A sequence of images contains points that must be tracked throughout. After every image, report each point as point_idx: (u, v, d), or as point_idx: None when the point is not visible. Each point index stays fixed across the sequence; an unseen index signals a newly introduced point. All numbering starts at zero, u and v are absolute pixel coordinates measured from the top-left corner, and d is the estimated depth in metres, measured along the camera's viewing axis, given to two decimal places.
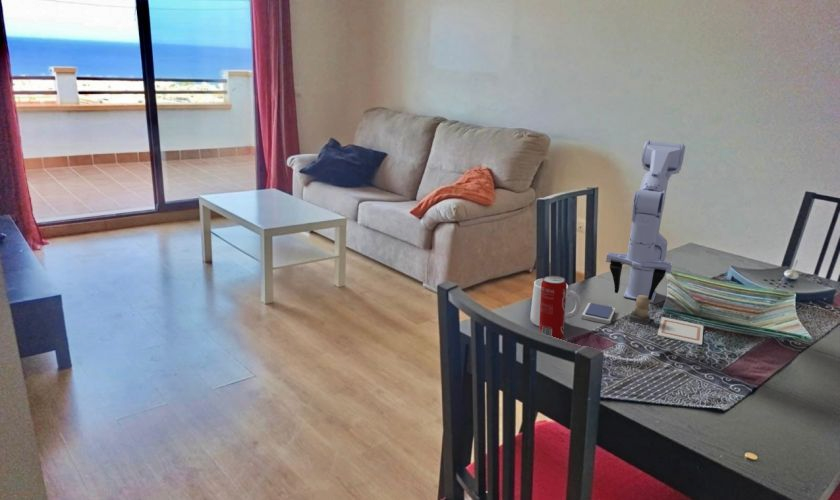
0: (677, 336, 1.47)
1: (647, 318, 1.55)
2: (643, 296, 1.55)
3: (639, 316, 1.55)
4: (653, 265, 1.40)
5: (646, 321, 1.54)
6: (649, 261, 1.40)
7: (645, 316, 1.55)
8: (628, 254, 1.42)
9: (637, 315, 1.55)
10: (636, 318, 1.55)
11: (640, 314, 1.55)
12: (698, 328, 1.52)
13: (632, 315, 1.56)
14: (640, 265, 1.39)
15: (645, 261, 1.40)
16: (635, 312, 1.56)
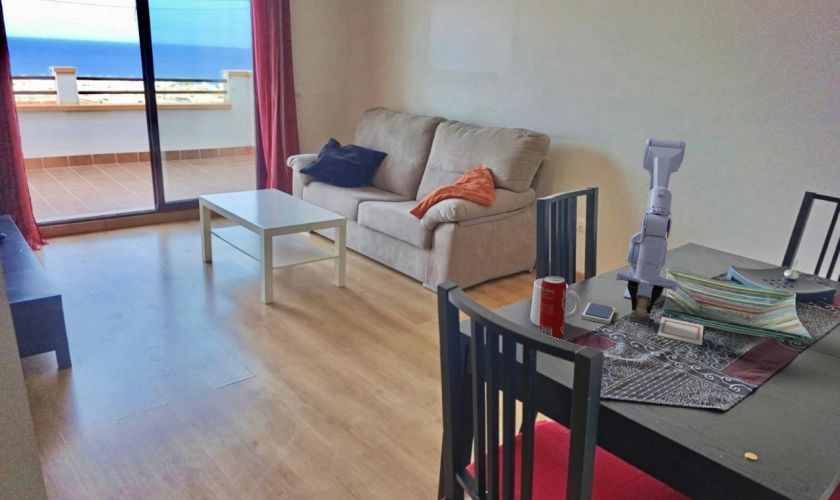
0: (677, 336, 1.47)
1: (647, 318, 1.55)
2: (643, 296, 1.55)
3: (639, 316, 1.55)
4: (660, 283, 1.50)
5: (646, 321, 1.54)
6: (656, 280, 1.51)
7: (645, 316, 1.55)
8: (637, 273, 1.52)
9: (637, 315, 1.55)
10: (636, 318, 1.55)
11: (640, 314, 1.55)
12: (698, 328, 1.52)
13: (632, 315, 1.56)
14: (648, 283, 1.50)
15: (653, 280, 1.50)
16: (635, 312, 1.56)
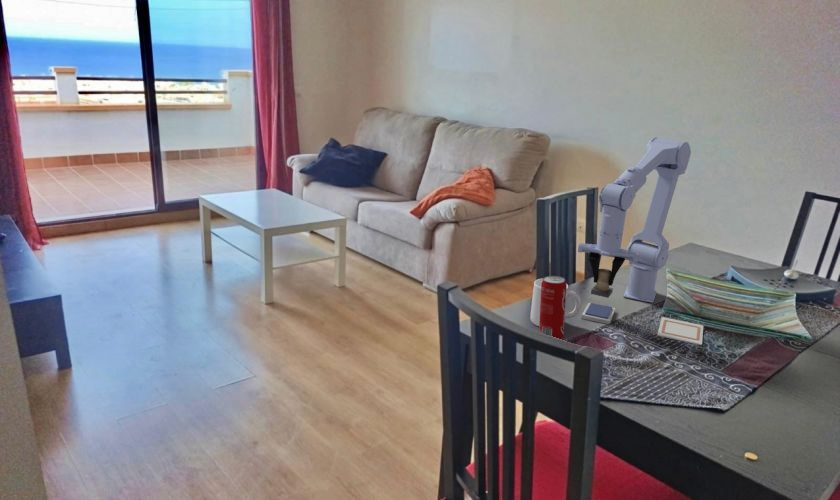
0: (677, 336, 1.47)
1: (608, 291, 1.54)
2: (605, 269, 1.55)
3: (600, 289, 1.54)
4: (621, 254, 1.49)
5: (606, 294, 1.53)
6: (617, 251, 1.50)
7: (606, 289, 1.54)
8: (598, 244, 1.52)
9: (598, 288, 1.55)
10: (597, 291, 1.54)
11: (601, 287, 1.54)
12: (698, 328, 1.52)
13: (593, 289, 1.55)
14: (608, 254, 1.49)
15: (613, 251, 1.50)
16: (596, 285, 1.55)
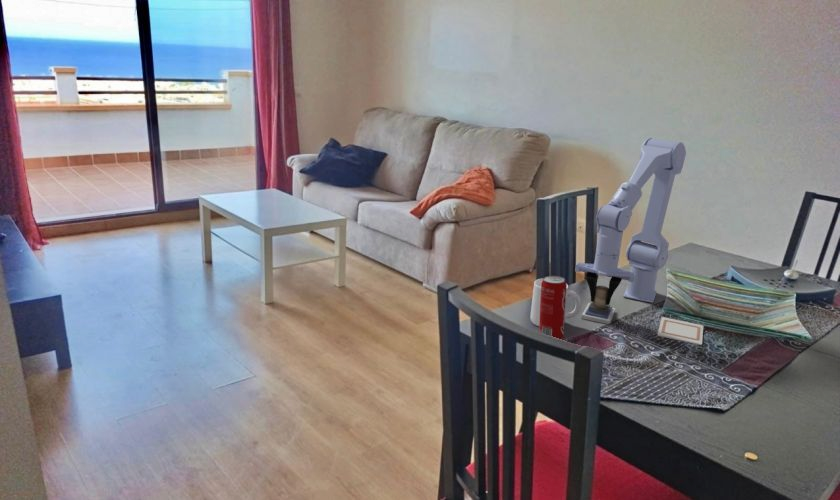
0: (677, 336, 1.47)
1: (605, 308, 1.55)
2: (602, 287, 1.56)
3: (597, 306, 1.56)
4: (617, 274, 1.51)
5: (604, 311, 1.55)
6: (614, 271, 1.52)
7: (604, 306, 1.56)
8: (595, 264, 1.53)
9: (596, 305, 1.56)
10: (594, 308, 1.56)
11: (599, 304, 1.56)
12: (698, 328, 1.52)
13: (591, 306, 1.57)
14: (605, 275, 1.51)
15: (610, 271, 1.51)
16: (594, 302, 1.57)
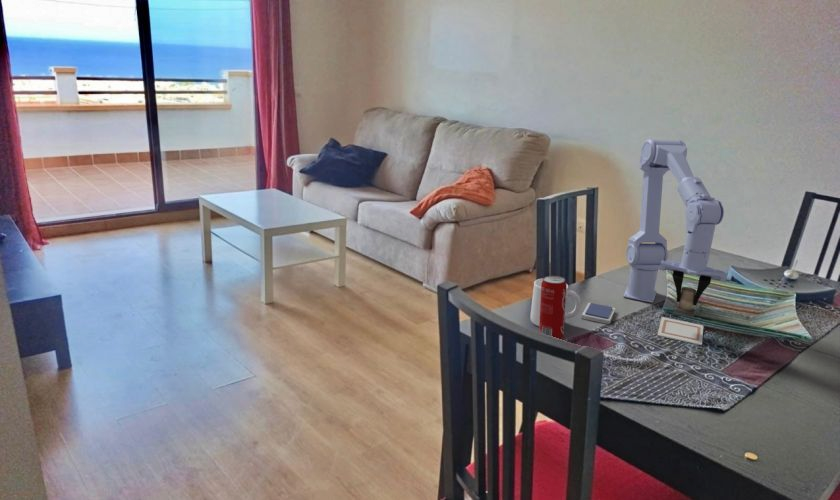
0: (677, 336, 1.47)
1: (692, 311, 1.47)
2: (689, 288, 1.48)
3: (684, 309, 1.47)
4: (708, 273, 1.43)
5: (691, 314, 1.46)
6: (704, 269, 1.43)
7: (690, 309, 1.47)
8: (683, 262, 1.45)
9: (682, 308, 1.48)
10: (680, 311, 1.47)
11: (685, 307, 1.47)
12: (698, 328, 1.52)
13: (676, 308, 1.48)
14: (696, 273, 1.42)
15: (700, 269, 1.43)
16: (680, 305, 1.48)
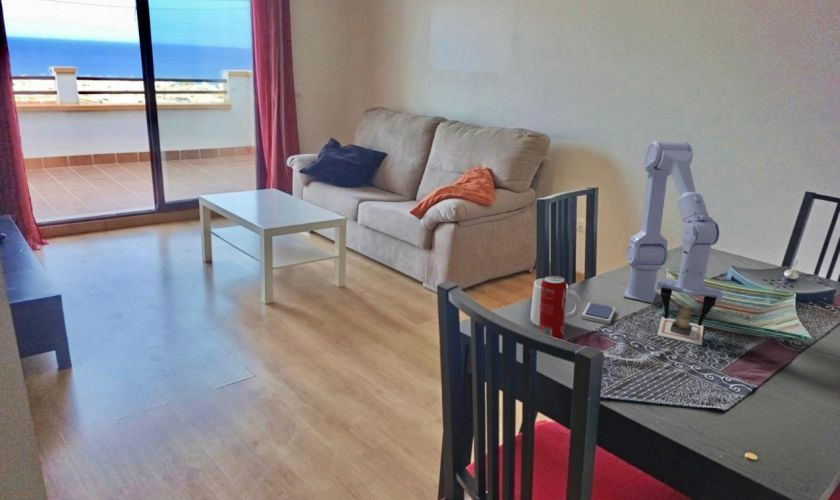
0: (677, 336, 1.47)
1: (689, 329, 1.49)
2: (685, 306, 1.49)
3: (680, 327, 1.49)
4: (704, 293, 1.44)
5: (687, 332, 1.48)
6: (700, 289, 1.45)
7: (687, 327, 1.49)
8: (679, 282, 1.47)
9: (678, 326, 1.49)
10: (677, 329, 1.49)
11: (681, 325, 1.49)
12: (698, 328, 1.52)
13: (673, 326, 1.50)
14: (692, 293, 1.44)
15: (696, 289, 1.45)
16: (676, 322, 1.50)
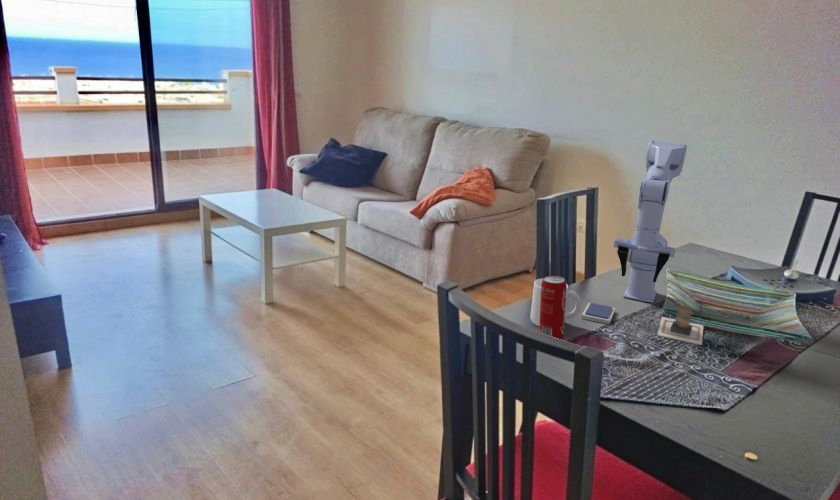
0: (677, 336, 1.47)
1: (689, 329, 1.49)
2: (685, 306, 1.49)
3: (680, 327, 1.49)
4: (658, 249, 1.50)
5: (687, 332, 1.48)
6: (654, 246, 1.51)
7: (687, 327, 1.49)
8: (634, 239, 1.52)
9: (678, 326, 1.49)
10: (677, 329, 1.49)
11: (681, 325, 1.49)
12: (698, 328, 1.52)
13: (673, 326, 1.50)
14: (646, 249, 1.49)
15: (650, 246, 1.50)
16: (676, 322, 1.50)
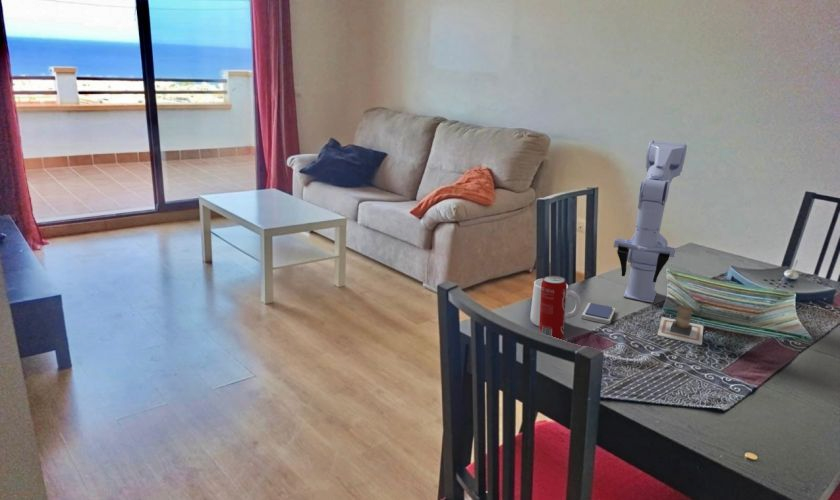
0: (677, 336, 1.47)
1: (689, 329, 1.49)
2: (685, 306, 1.49)
3: (680, 327, 1.49)
4: (658, 249, 1.50)
5: (687, 332, 1.48)
6: (654, 246, 1.51)
7: (687, 327, 1.49)
8: (634, 239, 1.52)
9: (678, 326, 1.49)
10: (677, 329, 1.49)
11: (681, 325, 1.49)
12: (698, 328, 1.52)
13: (673, 326, 1.50)
14: (646, 249, 1.49)
15: (650, 246, 1.50)
16: (676, 322, 1.50)
